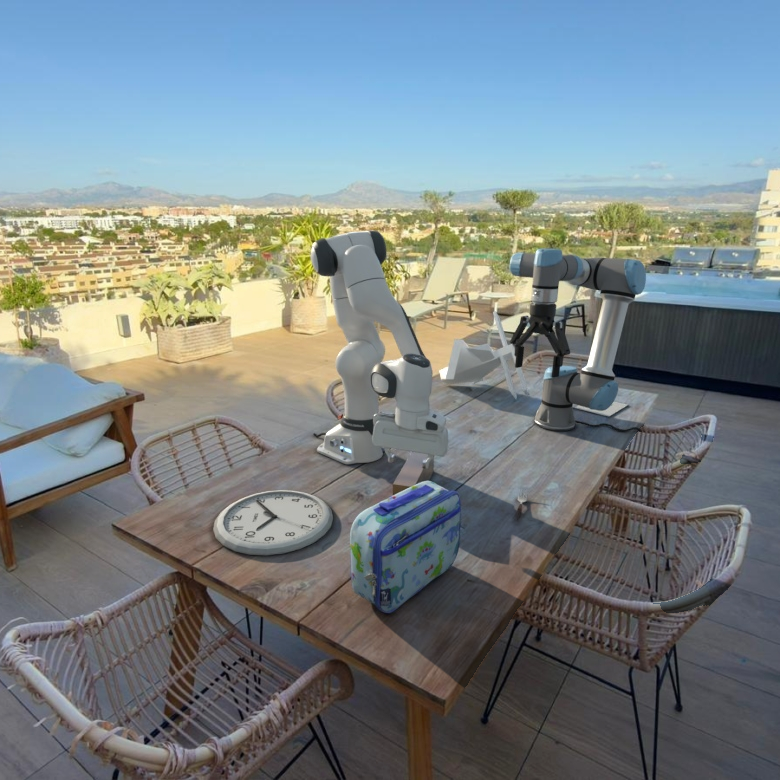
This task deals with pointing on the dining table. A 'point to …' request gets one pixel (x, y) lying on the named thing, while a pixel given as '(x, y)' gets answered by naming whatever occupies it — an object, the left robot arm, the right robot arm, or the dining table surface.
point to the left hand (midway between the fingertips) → (408, 464)
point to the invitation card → (608, 412)
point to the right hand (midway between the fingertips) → (536, 371)
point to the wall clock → (273, 522)
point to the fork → (521, 499)
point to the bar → (413, 472)
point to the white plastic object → (481, 362)
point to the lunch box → (404, 544)
